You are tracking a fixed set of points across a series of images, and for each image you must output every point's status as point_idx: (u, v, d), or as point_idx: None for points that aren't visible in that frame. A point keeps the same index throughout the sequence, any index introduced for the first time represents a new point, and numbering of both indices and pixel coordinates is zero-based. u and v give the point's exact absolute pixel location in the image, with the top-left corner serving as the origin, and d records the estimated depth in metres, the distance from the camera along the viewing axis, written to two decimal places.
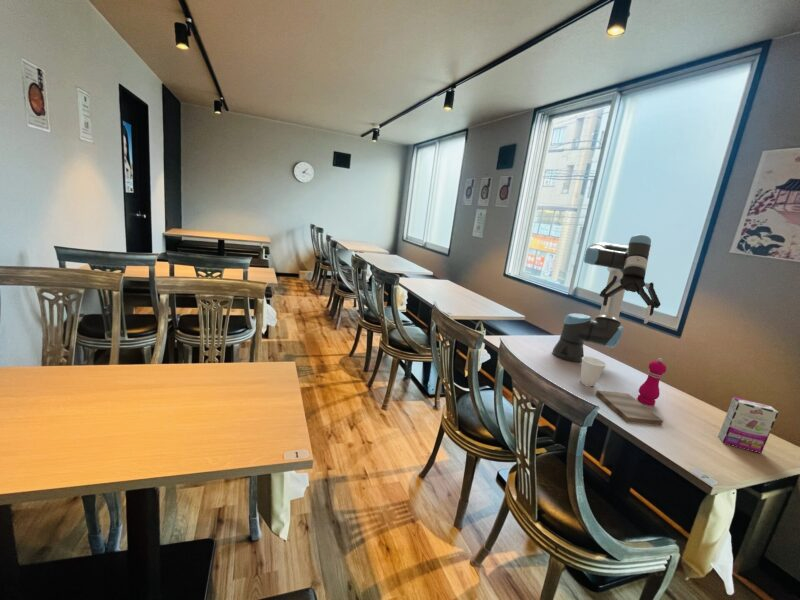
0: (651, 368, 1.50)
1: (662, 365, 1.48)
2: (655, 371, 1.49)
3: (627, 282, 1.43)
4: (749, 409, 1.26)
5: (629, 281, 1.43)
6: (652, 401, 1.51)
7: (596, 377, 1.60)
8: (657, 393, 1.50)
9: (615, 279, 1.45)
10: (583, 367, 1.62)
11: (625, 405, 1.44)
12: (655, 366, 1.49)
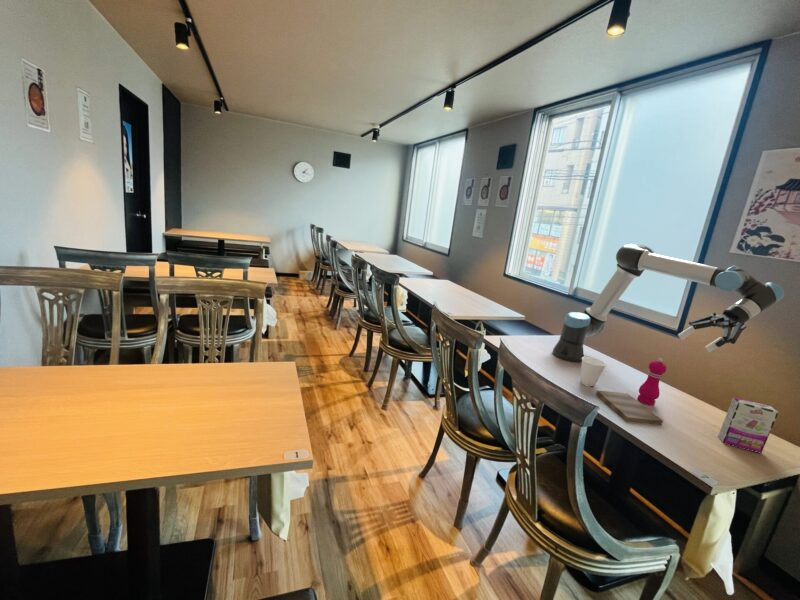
0: (651, 368, 1.50)
1: (662, 365, 1.48)
2: (655, 371, 1.49)
3: None
4: (749, 409, 1.26)
5: None
6: (652, 401, 1.51)
7: (596, 377, 1.60)
8: (657, 393, 1.50)
9: None
10: (583, 367, 1.62)
11: (625, 405, 1.44)
12: (655, 366, 1.49)
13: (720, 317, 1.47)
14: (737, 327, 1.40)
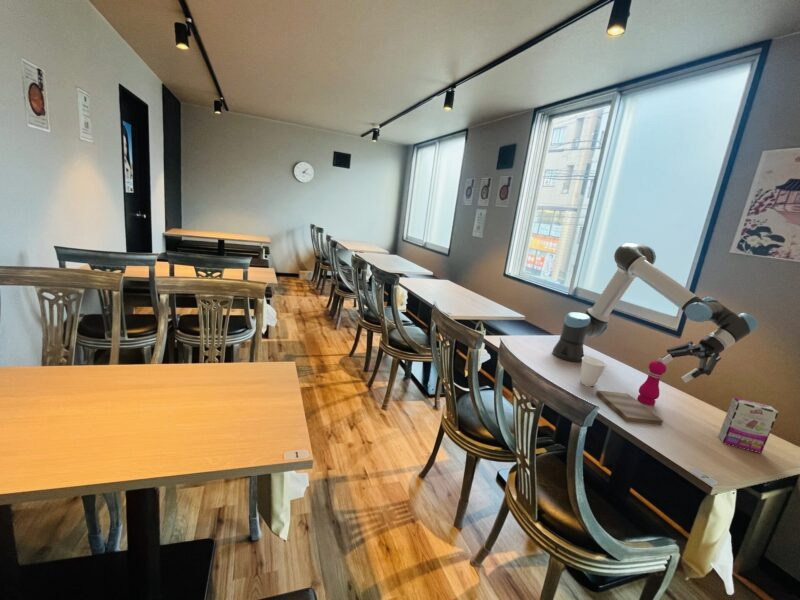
0: (651, 368, 1.50)
1: (662, 365, 1.48)
2: (655, 371, 1.49)
3: None
4: (749, 409, 1.26)
5: None
6: (652, 401, 1.51)
7: (596, 377, 1.60)
8: (657, 393, 1.50)
9: None
10: (583, 367, 1.62)
11: (625, 405, 1.44)
12: (655, 366, 1.49)
13: (696, 347, 1.50)
14: (712, 358, 1.42)
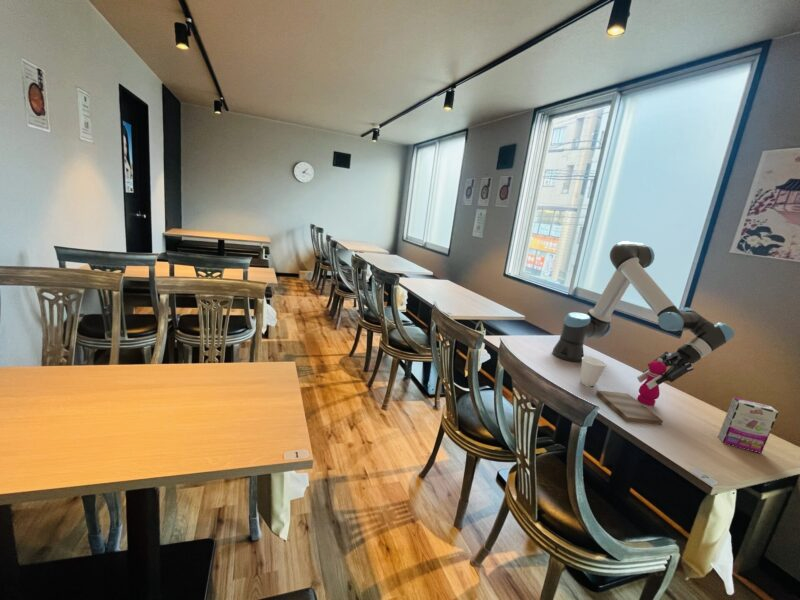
0: (651, 368, 1.50)
1: (662, 365, 1.48)
2: (655, 371, 1.49)
3: None
4: (749, 409, 1.26)
5: None
6: (652, 401, 1.51)
7: (596, 377, 1.60)
8: (657, 393, 1.50)
9: None
10: (583, 367, 1.62)
11: (625, 405, 1.44)
12: (655, 366, 1.49)
13: (674, 355, 1.51)
14: (682, 368, 1.45)
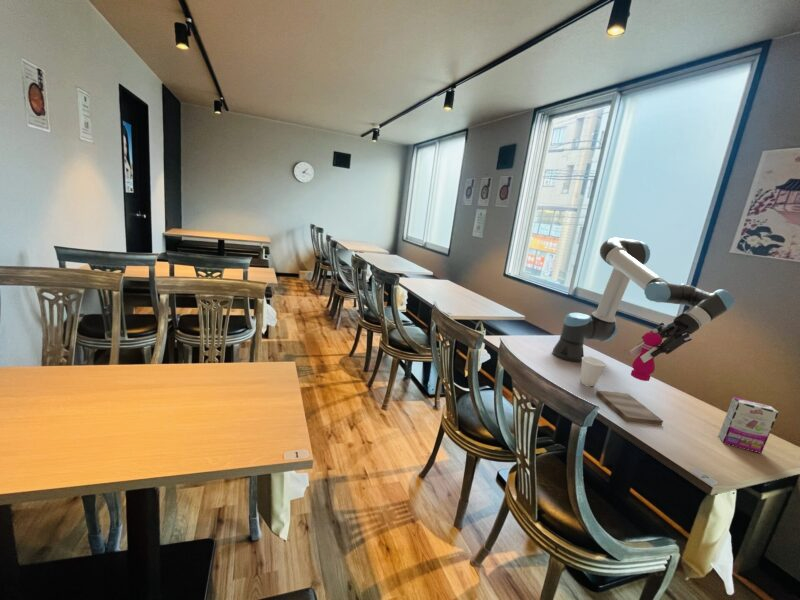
0: (646, 340, 1.38)
1: (657, 336, 1.36)
2: (650, 343, 1.37)
3: None
4: (749, 409, 1.26)
5: None
6: (647, 376, 1.39)
7: (596, 377, 1.60)
8: (652, 367, 1.38)
9: None
10: (583, 367, 1.62)
11: (625, 405, 1.44)
12: (650, 337, 1.37)
13: (670, 326, 1.39)
14: (679, 338, 1.33)
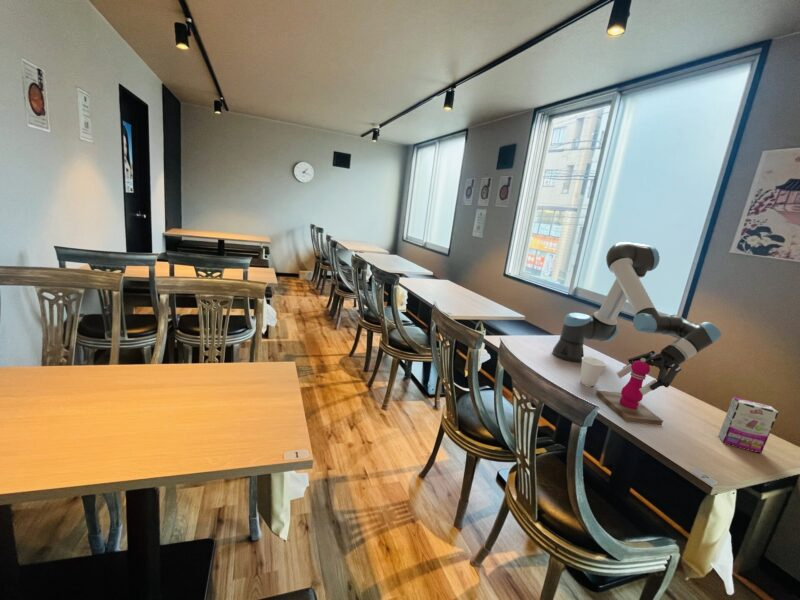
0: (634, 369, 1.41)
1: (645, 365, 1.39)
2: (638, 372, 1.40)
3: None
4: (749, 409, 1.26)
5: None
6: (635, 404, 1.42)
7: (596, 377, 1.60)
8: (640, 395, 1.41)
9: None
10: (583, 367, 1.62)
11: None
12: (638, 366, 1.39)
13: (657, 357, 1.42)
14: (671, 370, 1.34)
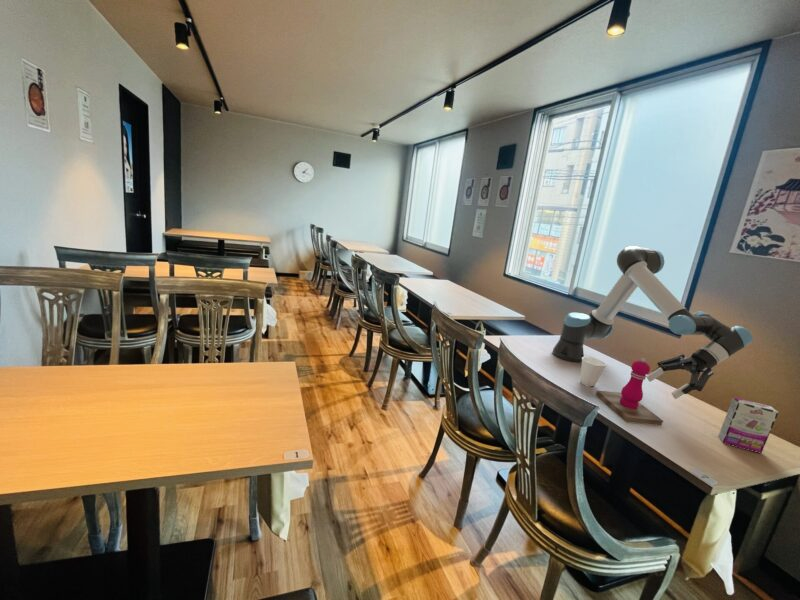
0: (634, 369, 1.41)
1: (645, 365, 1.39)
2: (638, 372, 1.40)
3: None
4: (749, 409, 1.26)
5: None
6: (635, 404, 1.42)
7: (596, 377, 1.60)
8: (640, 395, 1.41)
9: None
10: (583, 367, 1.62)
11: None
12: (638, 366, 1.39)
13: (688, 361, 1.43)
14: (704, 373, 1.35)
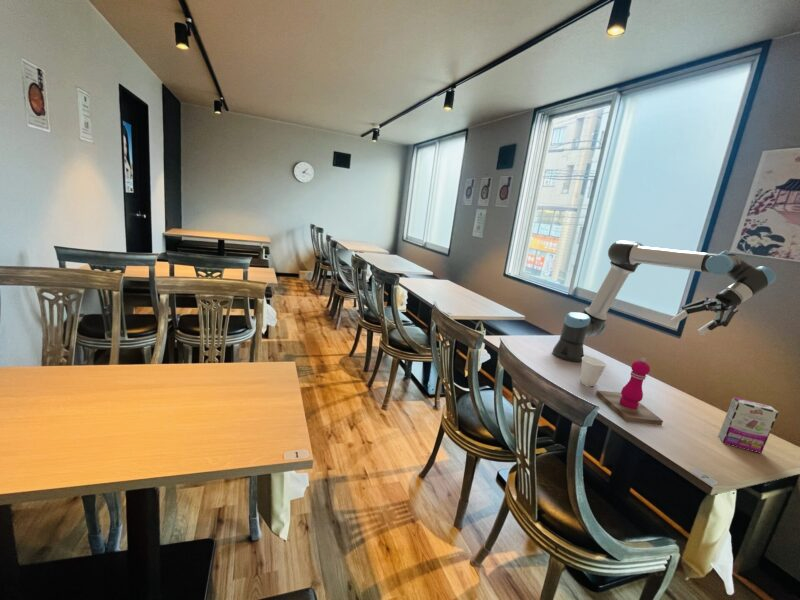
0: (634, 369, 1.41)
1: (645, 365, 1.39)
2: (638, 372, 1.40)
3: None
4: (749, 409, 1.26)
5: None
6: (635, 404, 1.42)
7: (596, 377, 1.60)
8: (640, 395, 1.41)
9: None
10: (583, 367, 1.62)
11: None
12: (638, 366, 1.39)
13: (713, 301, 1.48)
14: (729, 310, 1.40)
